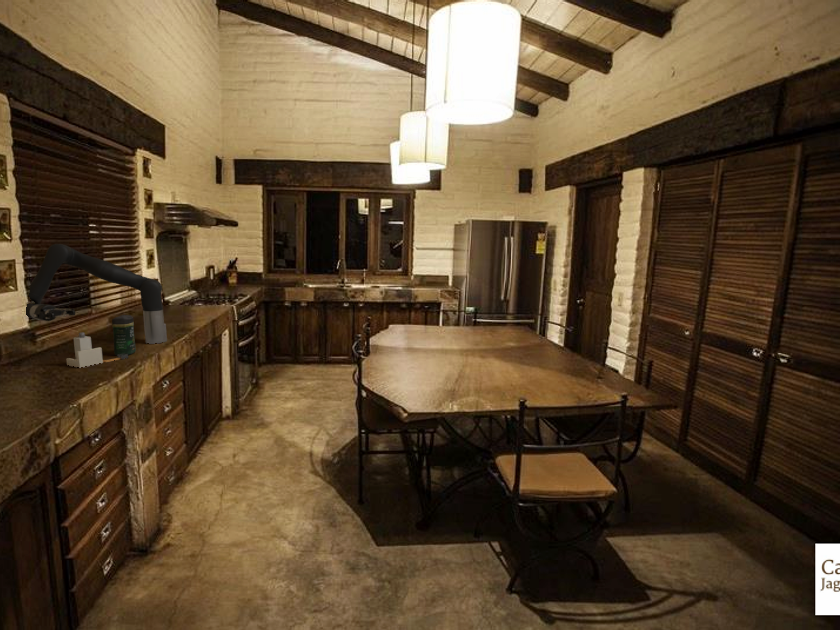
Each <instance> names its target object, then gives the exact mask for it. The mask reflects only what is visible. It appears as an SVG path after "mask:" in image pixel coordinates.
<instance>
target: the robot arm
mask: <svg viewBox="0 0 840 630" xmlns="http://www.w3.org/2000/svg"><path fill="white" fill-rule="evenodd" d="M63 264H64V265H69V266H72V267H76V268H78V269H81V270H82V271H85V272H87V273H88V274H90V275H92V276H94V277H96V278H98V279H101V280H103V281H106V282H109V283H113V284H116V285H121V286H125V287H130V288H133V289H135V290H138V291H140V300H141V301H140V302H141V306H142V307H141V308H142V312H143V313H142V315H143V326H144V327H143V328H144V339H145V344H147V343H149V344H150V345H155V343H157V344H163V343H165V342H167V341H168V337H167V336H168V335H167V323H165V321H164V320H165V317H164V305H163V302H162V292H163V286H162V285H163V284H161V282H160V281H158V280H157V279H153V278H149V277H147V276H143V275H141V274H140V275H139V274H138V273H134V272H133V271H130V270H128V269H126V268H124V267H122V266H120V265H117V264H115V263H112V262H109V261H107V260H104V259H101V258H99V257H98V258H97V257H94V256H92V255H88V254H85V253H83V252H80V251H78V250H76V249H75V248H72V247H70V246H69V245H66V244H62V243H53V244H52V245H50V246H48V249H47V251H46V253H45V256H44V258H43V260H42V263H41V265H40V268H39V270H38V271H37V273H36V275H35V276H34V278H33V279H32V281H31V282H30V284H31V285H30V284H29V286H30V293H29V297H30V299H31V300H30V299H29V300H30V301H31V302H32V301H34V302H35V304H31V303H30V302H28V303H29V304H27V307H26V315H27V316H28V317H29V318H32V319H31V320H33V319H34V320H39V321H44V322H50V321H54V320H55V319H56V318H60V317H66V316H76V310H75V308H67V307H66V308H58V307H56V306H55V305H53V304H45V303H42V300H43V298H44V296H45V295H46V294H47V291H48V290H49V289H50V286H51V283H52V281H53V279H54V276H55V274H56V273H57V271H58V269H59V268H60V267H61V266H62V265H63ZM162 342H163V343H162ZM149 344H148V345H149Z"/></svg>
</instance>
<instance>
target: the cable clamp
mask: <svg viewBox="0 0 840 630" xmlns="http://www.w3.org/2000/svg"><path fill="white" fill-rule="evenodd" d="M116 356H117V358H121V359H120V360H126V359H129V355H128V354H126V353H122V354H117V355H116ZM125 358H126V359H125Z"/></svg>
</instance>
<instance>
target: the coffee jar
mask: <svg viewBox="0 0 840 630" xmlns="http://www.w3.org/2000/svg"><path fill="white" fill-rule="evenodd" d="M134 321H135V320H134V317H133V315H131V314H121V315H119V316H115V317H113V318H112V319H111V327H112V332H113V353H114V355H115V356H117V354H122V353H126V354H128V356H130V355H133V354H134V353H136V351H137V349H136V341H135V329H134V328H135V327H134V326H135V325H134Z"/></svg>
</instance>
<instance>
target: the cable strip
mask: <svg viewBox="0 0 840 630" xmlns="http://www.w3.org/2000/svg"><path fill="white" fill-rule="evenodd" d="M114 360H115V361H119V360H122V359H121V358H118V357H116V358H111V359H103V363H110V362H114Z"/></svg>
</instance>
